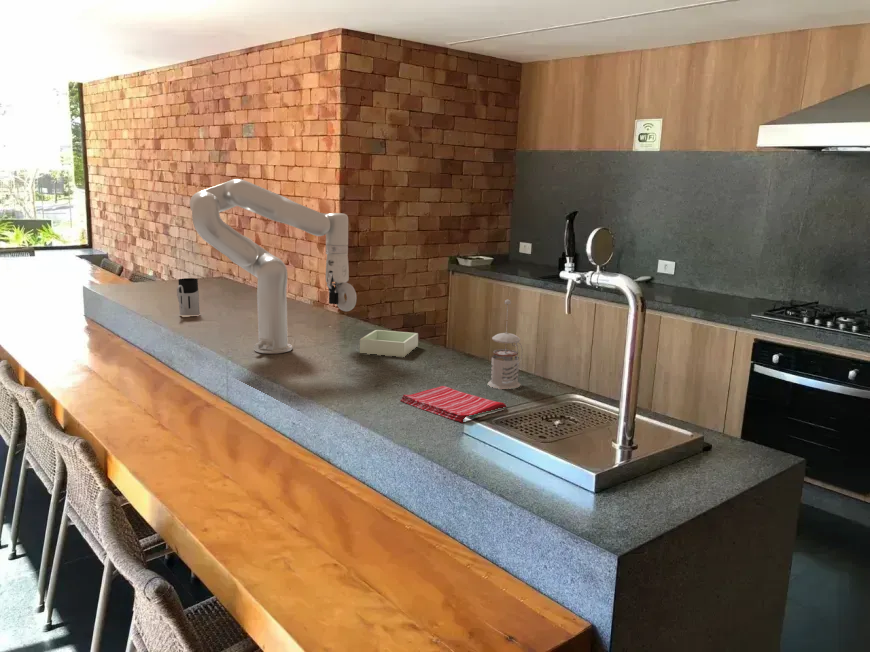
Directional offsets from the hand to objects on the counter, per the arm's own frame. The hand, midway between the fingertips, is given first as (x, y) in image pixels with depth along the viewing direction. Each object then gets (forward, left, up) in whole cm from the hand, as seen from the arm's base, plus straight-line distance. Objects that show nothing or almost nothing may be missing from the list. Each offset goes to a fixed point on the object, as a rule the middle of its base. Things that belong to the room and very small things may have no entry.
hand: (336, 302), depth 245 cm
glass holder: (+25, +77, -15) cm, 83 cm away
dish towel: (-52, -55, -16) cm, 77 cm away
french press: (-28, -65, -15) cm, 72 cm away
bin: (-1, -20, -15) cm, 25 cm away
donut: (-1, -4, -3) cm, 5 cm away
